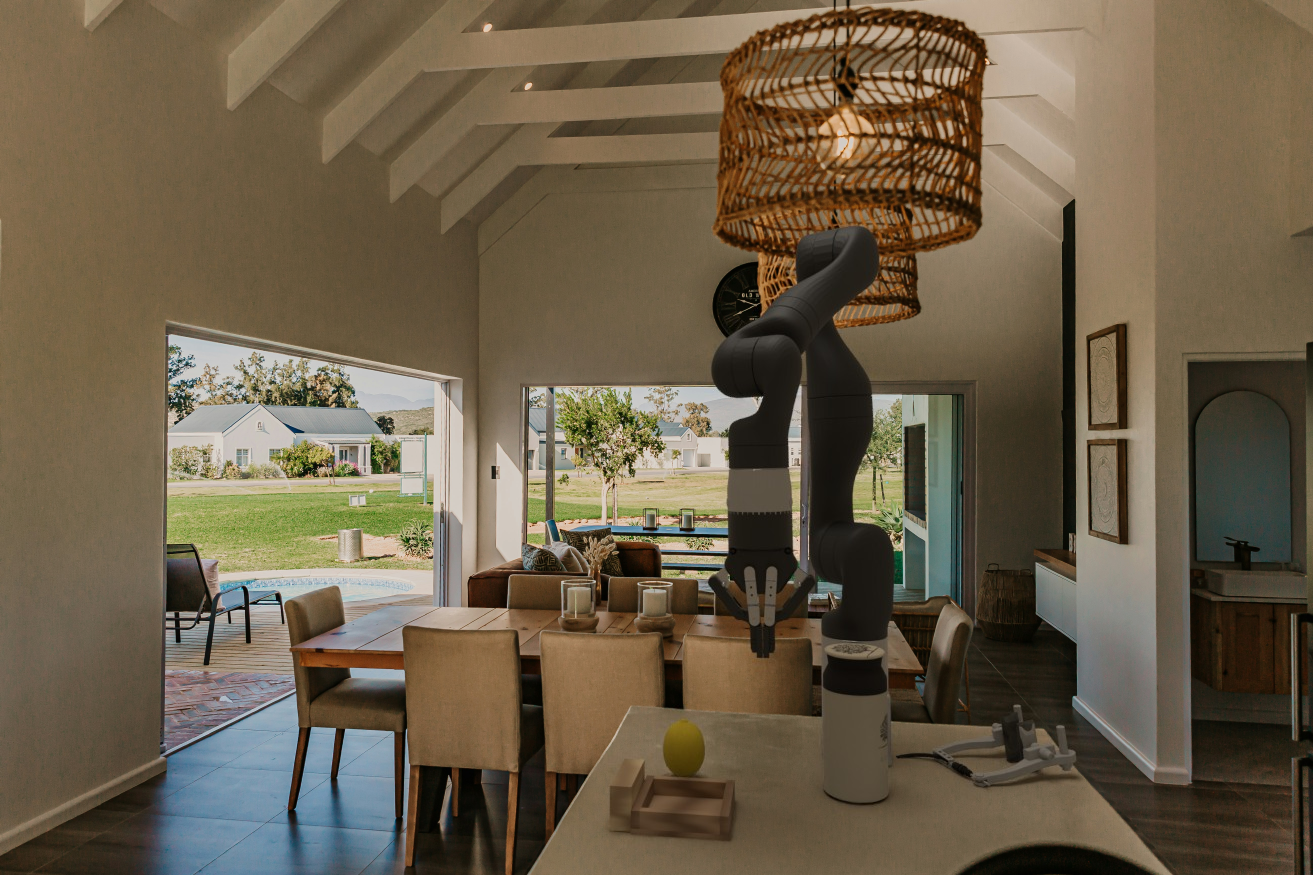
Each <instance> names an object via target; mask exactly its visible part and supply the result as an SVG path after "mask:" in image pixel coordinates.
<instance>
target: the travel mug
mask: <svg viewBox="0 0 1313 875" xmlns="http://www.w3.org/2000/svg"><path fill="white" fill-rule="evenodd" d="M824 651H825V653H826V654H827V659H828V664H827V666H826V668H825V670H824V672H823V755H822V757H823V758H822V759H823V764H822V765H823V790H824V791H825V793H827V794H828V795H829V796H831V797H833V798H835V799H837V800H840V801H843V802H846V803H852V804H873V803H876V802H878V801H882V800H883V799H885V798H886V797H888V795H889V765H888V714H887V676H886V674H885V672H884V670H883V668H882V666H881V664H882V658H883V656H884V654H885V651H884V650H883V649H881V648H879V647H876V646H872V645H866V644H854V643H843V644H833V645H829V646H827V647H825V649H824Z"/></svg>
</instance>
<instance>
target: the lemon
mask: <svg viewBox="0 0 1313 875" xmlns="http://www.w3.org/2000/svg"><path fill="white" fill-rule="evenodd" d="M662 753H663V754H662V755H663V756H662V757H663V760H664V762H665V766H666V767H667V768H668V770H669V771H670V772H671V773H672V774H674V775H676V776H677V777H687V778H690V777H691V776H694V774H696V773H698V771H700V769H701V768H702V766H703V763H704V762H705V755H706V746H705V741H704V736H703V733H702V731H701V729H700V728H699V727H698V726H697V725H696V724H695V723H693V722H692V721H689V720H688V719H687V718H681V719H680V720H678V721H676V722H674V723H673V724H672V725H671V726H669V727H668V729H667V730H666V733H665V736H664V739H663V745H662Z"/></svg>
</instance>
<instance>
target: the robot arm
mask: <svg viewBox="0 0 1313 875" xmlns="http://www.w3.org/2000/svg"><path fill="white" fill-rule="evenodd" d="M794 258H795V277H796V284H794V285H792V286H791V287H789V288H788V289H786V290H785V291H783V292H782V293H781V294H780V295H778V296H777V297H776V298H775V299H774V300H773V301H772V303H771V304H770V305H769V306H768V307H767V308H766V310H765V311H763V313H762V314H761V315H760V317H759V318H757V319H755V320H753V321H752V322H749V323H747V324H746V325H744V326H743V327H742V328H740V329H738V330H736V331H735V332H733V333H732V334H730V335H729V336H727V337H726V338H725V339H724V340H723V341H721V343H720V345H718V347H717V349H716V351H715V352H714V355H713V358H712V360H711V366H710V369H711V370H710V371H711V373H710V374H711V379H712V381H713V384H714V386H715V388H716V389H717V390H718V391H719V392H720V393H721V394H722V395H724V396H726V397H728V398H735V399H746V398H749V399H750V398H760V397H761V398H762V399H761V402H760V405H759V407H758V409H757V411H755V413H753V414H751V415H749V416H745V417H741V418H739V419H736V420H734V421H732V423H731V424H730V425H729V428H728V434H727V435H728V437H727V440H728V441H727V444H728V446H727V447H728V479H727V484H726V485H727V486H726V488H727V491H726V495H727V496H726V502H725V504H726V507H727V508H726V509H727V546H728V547H727V548H728V549H727V555H726V558H725V559H724V563H723V564H724V565H723V566H724V567H723V568H720V569H719V570H718V571H717V572H716V573H715V574H714V573H713V574H712V575H710V576H709V578H708V580H707V585H708V586H709V588H710V589H711V590H712V591H713V593H714V594H715V595H716V596H717V598H718V599H719V600H720V601H721V603H722V604H723V605H724V606H725V607H726V609H727V610H728V612H729V613H730V614H731V615H732V616H733V618H734V619H735V620H736V621H742V622H745V623H747V624H748V626H749V635H750V639H749V640H750V644H749V645H750V650H751V652H752V654H753V653H755V654H756V659H770V654H774V653H775V650H776V625H777V624H778V623H780V622H783V621H788V620H789V619H790V618H791V617H792V616H793V614H794V613H795V612H796V610H797V609H798V608H799V606H800V605H801V604H802V603H803V601H804V600H805V599H806V597H807V596H808V595H809V593H810V592H811V591H812V589H813V588H814V587H815V585H816V579H815V577H814V575H812V574H808V573H807V572H806V571H804V570H803V569H801V567H799V563H798V559H797V558H796V556H795V554H794V535H793V534H794V532H793V531H794V530H793V523H794V522H793V504H794V502H793V492H792V482H791V476H790V455H789V454H790V453H789V452H790V451H789V449H790V448H789V432H790V427H791V423H792V422H791V421H792V417H793V413H794V408H795V403H796V399H797V397H798V396H797V395H798V392H799V388H800V385H801V380H802V377H803V376H802V374H803V359H802V358H803V357H802V355H804V353H805V367H806V368H805V369H806V404H807V405H806V406H807V408H806V409H807V421H808V431H809V447H810V448H809V450H810V452H809V453H810V480H811V481H810V483H811V484H810V486H811V488H810V489H811V490H810V496H811V497H810V513H809V515H810V516H809V531H808V532H809V535H808V537H809V538H808V539H809V540H808V544H809V545H808V548H809V549H808V550H809V558H810V563H811V567H812V569H813V570H814V573H815V574H816V576H817V577H818V578H819V579H821V580H822V581H823V582H827V583H829V584H834V585H838V586H841V599H840V603H839V605H838V606H837V607H836V608H834V609H831V610H827V611H826V612H824V613H823V614H822V616H821V619H820V620H821V621H820V623H821V624H820V628H821V629H820V630H821V631H820V633H821V643H820V644H821V648H820V649H821V746H822V749H821V750H822V756H823V672H824V670H825V668H826V666H827V664H828V659H827V654H826V653H825V651H824V649H825V647H827V646H829V645H833V644H843V643H854V644H866V645H872V646H876V647H879V648H881V649H883V650H884V651H885V654H884V656H883V658H882V664H881V666H882V668H883V670H884V672H885V674H886V676H887V714H888V767H889V766H892V716H891V714H892V708H891V704H892V703H891V701H892V699H891V695H890V692H889V652H888V651H889V638H888V636H889V635H888V633H889V625H890V621H891V619H892V615H893V610H894V594H895V593H894V592H895V589H894V588H895V575H896V573H895V570H896V569H895V568H896V566H895V565H896V561H895V560H896V559H895V549H894V545H893V541H892V539H891V537H890V535H889V533H888V531H887V530H885V529H884V528H883V527H881V526H879V525H877V524H874V523H869V522H857V521H855V517H854V516H855V515H854V496H853V495H854V487H855V481H856V477H857V474H858V471H859V469H860V467H861V464H862V462H863V460H864V457H865V455H866V453H867V450H868V448H869V445H870V443H871V439H872V436H873V432H874V423H875V422H874V408H873V407H874V406H873V405H874V404H873V388H872V384H871V380H870V378H869V376H868V374H867V372H866V370H865V369H864V368H863V366H862V364H861V362H860V361H859V360H858V359H857V357H856V356H855V355H854V354H853V352H852V351H851V350H850V348H849V347H848V345H847V344H846V343H845V341H844V340H843V338H842V336H841V334H840V333H839V331H838V329H837V327H836V324H835V321H834V316H835V315H836V314H838V313H839V312H840V311H841V310H842V309H843V308H844V307H846V306H847V305H848V304H849V303H851V302H852V301H853V300H854V299H855V298H857V297H858V296H859V295H860V294H862V293H864V291H866V290H867V289H868V288H869V287H871V286H872V284H873V283H874V282H875V280H876V278H877V276H878V274H879V270H880V269H879V268H880V253H879V247H878V242H877V240H876V238H875V235H873V233H872V232H871V231H870V229H868V228H867V227H865V226H861V225H848V226H847V225H846V226H844V227H843V226H842V227H837V228H832V229H827V230H823V231H818V232H814V233H809V234H806V235H804V236H802V237H801V238H800V239H799V241H798V243H797V245H796V250H795V257H794ZM728 576H729V577H730V578H731V579H732V581H733V582H734V583H735V584H736V586H737V587H738V588H739V590H740V591H741V592H742V593H743V594H745V595H746V603H747V604H746V605H747V608H745V607H743V605H742V604H741V603H740V602H739V600H738V599H737V597H736V596H735V595H734V594H733V593H732V592H731V590H730V589H729V586H730V584H731V582H730V580H729V577H728ZM793 576H794V580H793V587H794V590H793V592H792V593H791V594H790V595H789V596H788V598H787V599H786V600H785V602H784V603H783V605H782V606H781V607H780V608H776V601H777V600H776V598H777V595H779V594H780V593H781V592H782V591H783V590H784V588H785V587H786V586H787V584H788V583H789V581H790V580H791V578H792V577H793ZM759 595H765V596H764V614H763V622H762V621H761V611H760V601H759V600H760V598H759Z"/></svg>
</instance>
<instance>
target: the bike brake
mask: <svg viewBox="0 0 1313 875" xmlns="http://www.w3.org/2000/svg"><path fill="white" fill-rule="evenodd" d="M991 728H992V729H991V733H992V735H987V736H981V737H976V738H975V737H974V738H969V739H963V740H957V741H954V742H951V743H947V744H944V745H942V746H941V745H940V746H938V747H935V748H932V753H929V752H928V753H927V752H911V753H910V752H908V753H901V754H898V755H896V756H895V758H896V759H909V758H910V759H911V758H930V759H934V760H936V761H938V762H939V763H941V765H944V767H946V768H948V769H953V771H955V772H956V773H957V774H960V775H961V776H965V777H966V778H973V784H974V785H975V786H977V787H980V788H985V787H986V786H989V787H990V786H991V785H992V784H996V783H1002V782H1009V781H1011V780H1015V779H1018V778H1020V777H1023V776H1026V775H1028V774H1030V773H1034V772H1037V771H1040V770H1043V769H1046V768H1049V767H1054V766H1059V767H1060V768H1061V769H1062V771H1065V772H1070V771H1071V768H1073V766H1074V763H1076V762H1077V755H1076V751H1075V750H1073V749H1069V748H1068V742H1067V735H1066V729H1065V726H1064V725H1061V724H1060V725H1056V726H1055V728H1056V734H1057V736H1056V737H1057V744H1058V748H1059V750H1056V747H1055V744H1054V743H1052V742H1048V743H1043V744H1040V743H1038V739H1037V733H1036V724H1035V720H1034V719H1029V720H1025V721H1024V719H1023V711H1022V706H1021V705H1020V704H1014V705H1013V712H1010V713H1007V714H1001V715H1000V723H997V722H994V723H993V724H992V726H991ZM1002 746H1004V751H1005V758H1006V762H1007V763H1009V764H1010V763H1015V762H1017V763H1016V764H1014V765H1013V766H1010V767H1007V768H1005V769H1001V770H997V771H991V772H990V771H989V772H979V771H978V772H975V773H974V772H973V771H972V770H971V769H970V768H968V767H967V766H966V765H965V764H963V763H960V762H958V761H955V758H954V757H952V756H951V755H952V754H955V753H958V752H963V751H968V750H969V751H971V750H982V749H983V750H985V749H986V750H987V749H996V748H999V747H1002Z"/></svg>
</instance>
